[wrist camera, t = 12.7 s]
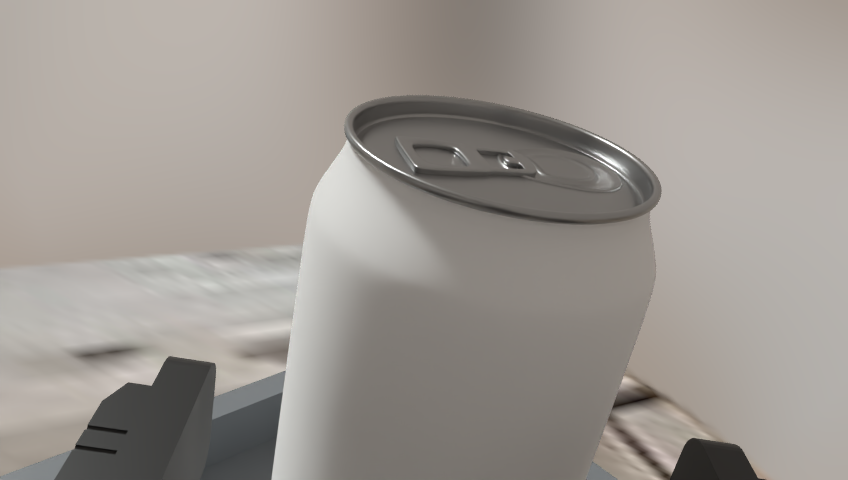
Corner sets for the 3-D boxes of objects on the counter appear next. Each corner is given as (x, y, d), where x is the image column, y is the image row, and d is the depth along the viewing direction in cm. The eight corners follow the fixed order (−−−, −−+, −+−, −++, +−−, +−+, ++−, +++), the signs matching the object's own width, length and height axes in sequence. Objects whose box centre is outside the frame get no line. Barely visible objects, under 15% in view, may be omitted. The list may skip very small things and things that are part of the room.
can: (564, 718, 17) (770, 238, 12) (269, 773, 15) (362, 217, 10) (470, 498, 22) (582, 105, 17) (244, 515, 20) (295, 73, 15)
